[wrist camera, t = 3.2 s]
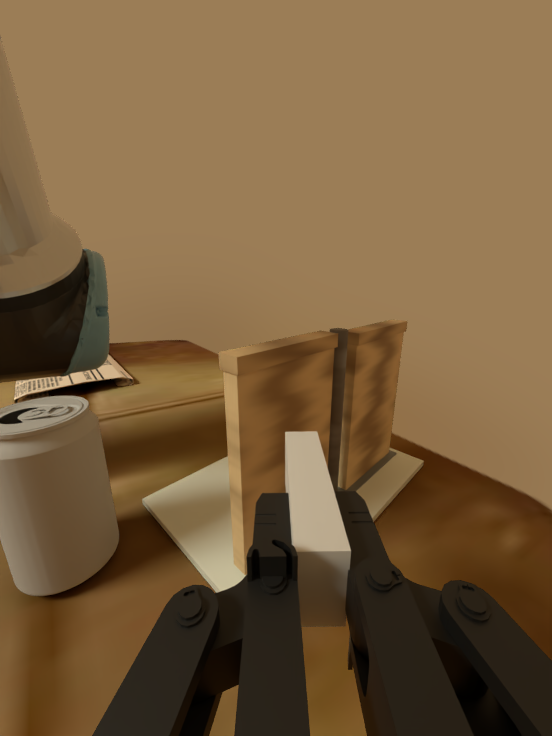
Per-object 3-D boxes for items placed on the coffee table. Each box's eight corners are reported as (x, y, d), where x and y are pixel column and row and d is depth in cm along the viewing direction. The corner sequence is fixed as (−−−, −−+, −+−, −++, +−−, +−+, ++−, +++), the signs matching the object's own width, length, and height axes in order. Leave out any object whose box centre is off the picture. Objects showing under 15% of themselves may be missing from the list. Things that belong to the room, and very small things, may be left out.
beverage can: (41, 536, 25) (1, 397, 21) (127, 519, 26) (104, 388, 23) (-4, 617, 19) (-69, 445, 15) (111, 589, 20) (77, 427, 17)
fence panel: (326, 486, 29) (335, 327, 24) (341, 494, 28) (353, 330, 23) (230, 563, 21) (218, 352, 17) (245, 578, 20) (236, 357, 16)
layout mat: (143, 504, 28) (142, 497, 28) (308, 419, 44) (308, 414, 44) (262, 648, 17) (262, 639, 17) (423, 465, 33) (423, 460, 33)
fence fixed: (346, 492, 28) (359, 333, 24) (332, 484, 30) (342, 331, 25) (390, 453, 35) (407, 321, 30) (377, 448, 36) (391, 319, 31)
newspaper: (20, 361, 76) (17, 350, 75) (107, 349, 87) (105, 340, 87) (16, 411, 48) (11, 395, 47) (144, 385, 60) (142, 371, 59)
